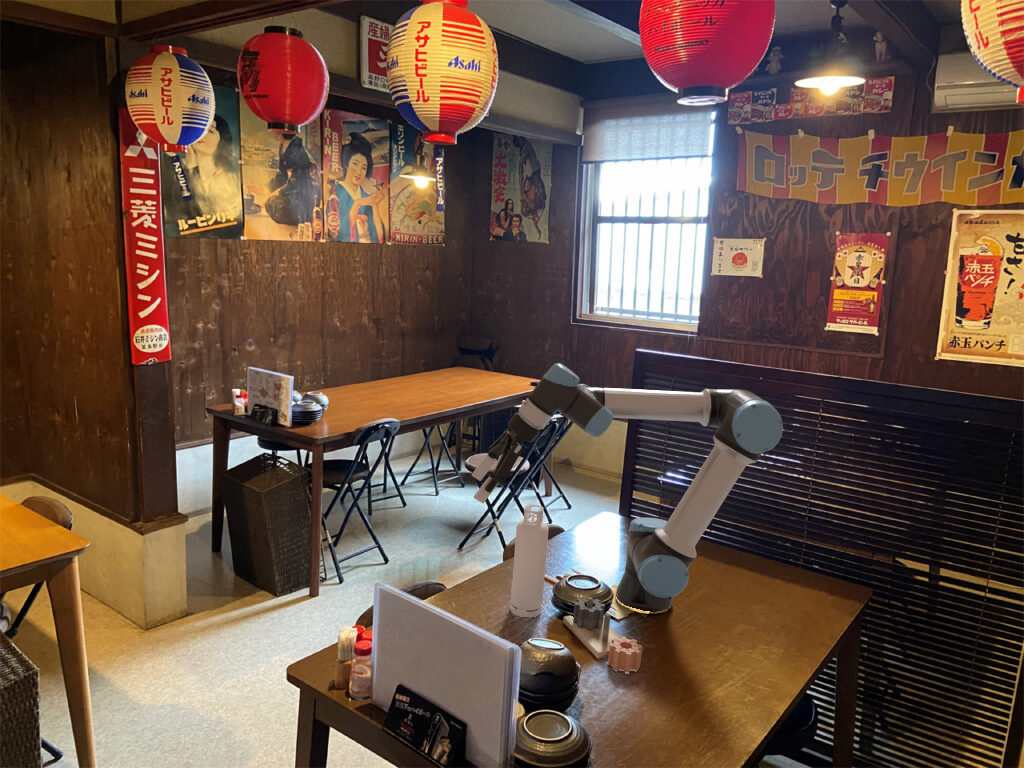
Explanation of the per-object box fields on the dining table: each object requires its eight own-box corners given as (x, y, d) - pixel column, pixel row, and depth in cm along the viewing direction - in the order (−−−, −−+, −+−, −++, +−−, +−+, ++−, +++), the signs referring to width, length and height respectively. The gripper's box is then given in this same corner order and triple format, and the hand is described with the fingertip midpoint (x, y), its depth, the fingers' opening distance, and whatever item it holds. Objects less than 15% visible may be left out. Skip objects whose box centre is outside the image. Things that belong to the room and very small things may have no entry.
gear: (628, 654, 173) (630, 634, 172) (645, 670, 167) (648, 651, 166) (602, 659, 170) (604, 639, 169) (619, 676, 164) (621, 656, 163)
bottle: (545, 606, 193) (554, 505, 187) (536, 621, 185) (544, 516, 180) (516, 599, 195) (523, 500, 190) (506, 613, 188) (513, 510, 182)
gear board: (594, 616, 189) (596, 588, 188) (630, 652, 174) (633, 621, 173) (563, 622, 186) (565, 592, 184) (597, 658, 170) (600, 627, 169)
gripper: (512, 397, 187) (463, 461, 190) (522, 429, 163) (466, 501, 166) (535, 413, 189) (486, 477, 192) (548, 447, 165) (492, 519, 168)
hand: (477, 488), depth 179 cm, fingers open, 13 cm apart
